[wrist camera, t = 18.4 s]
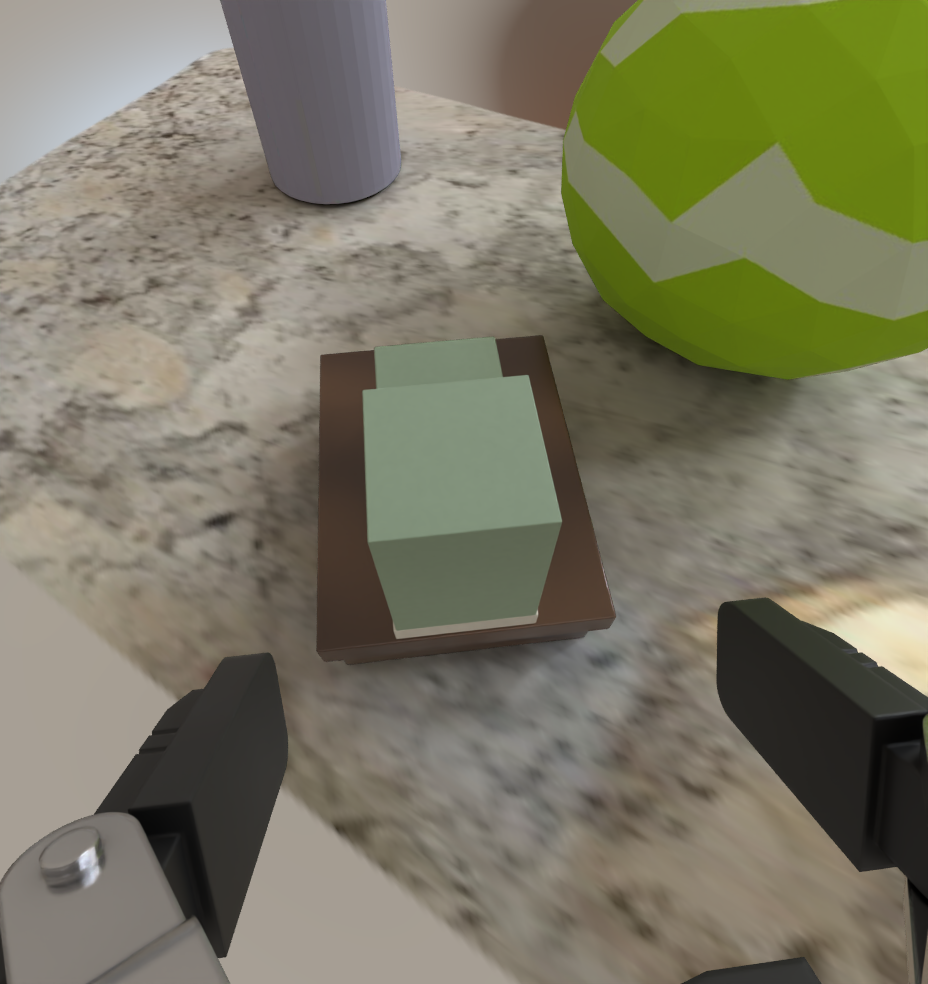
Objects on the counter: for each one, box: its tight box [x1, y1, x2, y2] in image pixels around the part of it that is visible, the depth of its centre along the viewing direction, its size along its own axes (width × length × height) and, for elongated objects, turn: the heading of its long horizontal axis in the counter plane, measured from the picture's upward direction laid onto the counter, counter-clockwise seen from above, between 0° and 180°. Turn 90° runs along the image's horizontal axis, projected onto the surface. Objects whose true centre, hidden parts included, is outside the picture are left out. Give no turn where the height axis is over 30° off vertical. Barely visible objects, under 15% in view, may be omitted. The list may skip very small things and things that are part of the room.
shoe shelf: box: [317, 335, 616, 665], centre depth 29 cm, size 16×12×4 cm
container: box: [220, 0, 401, 204], centre depth 41 cm, size 10×10×15 cm
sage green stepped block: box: [362, 337, 562, 639], centre depth 23 cm, size 12×6×8 cm, turn 7°
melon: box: [561, 0, 928, 380], centre depth 29 cm, size 20×25×20 cm
